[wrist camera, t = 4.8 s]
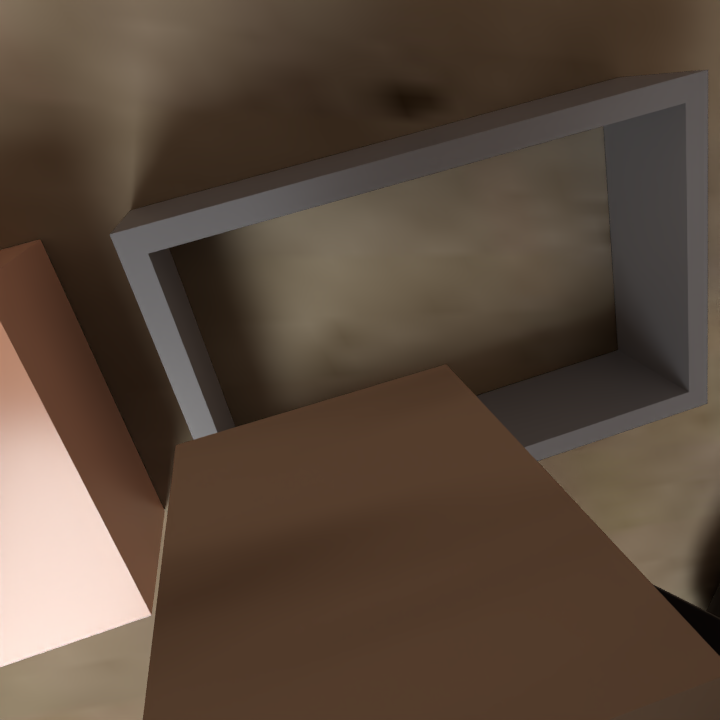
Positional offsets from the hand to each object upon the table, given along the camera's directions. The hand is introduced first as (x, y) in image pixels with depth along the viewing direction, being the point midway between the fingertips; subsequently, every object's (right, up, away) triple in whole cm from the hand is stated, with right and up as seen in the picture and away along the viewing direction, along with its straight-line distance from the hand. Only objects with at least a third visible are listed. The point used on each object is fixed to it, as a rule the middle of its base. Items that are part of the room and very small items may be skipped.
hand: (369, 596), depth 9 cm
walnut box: (0, 0, +1) cm, 1 cm away
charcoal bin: (+2, +5, +10) cm, 12 cm away
